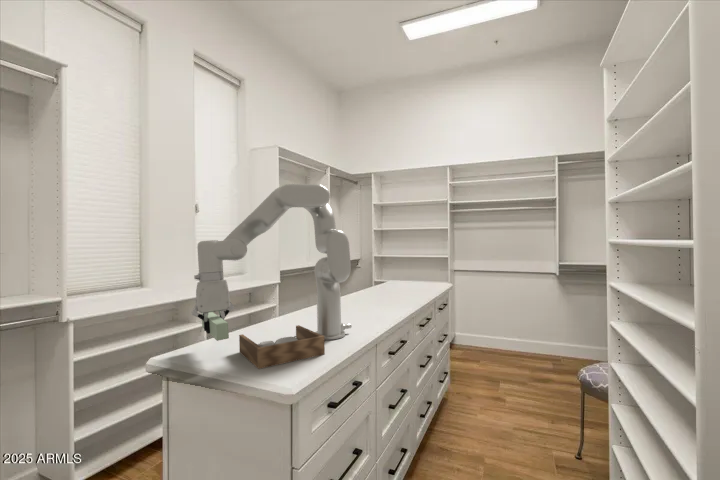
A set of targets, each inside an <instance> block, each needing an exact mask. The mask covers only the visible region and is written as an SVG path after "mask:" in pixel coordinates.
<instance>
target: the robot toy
mask: <svg viewBox="0 0 720 480" xmlns="http://www.w3.org/2000/svg"><path fill="white" fill-rule="evenodd" d="M296 337H297V336H296V335H294V336H287V337H286V336H285V337H280V338H277V339H276V340H275V341H273V340H265V341H262V342H259V343H256V344H257V345H259V346H260V347H265V346H270V345H275V344H280V343H286V342H291V341H296V340H298V339H297V338H296Z"/></svg>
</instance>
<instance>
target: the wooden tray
mask: <svg viewBox="0 0 720 480" xmlns="http://www.w3.org/2000/svg"><path fill="white" fill-rule="evenodd" d="M238 336H239V340H238V341H239V345H238V347H239V353H240V354H241V355H242V356H244V357H245V358H246V359H247V360H248V361H249V362H250V363H251V364H252V365H253V366H255V367H256V368H257V369H258V370H260V369H264V368H269V367H274V366H278V365H282V364H283V365H284V364H287V363H291V362H295V361H300V360H304V359H308V358H314V357H318V356H322V355H325V353H326V352H325V348H326V347H325V340H324V336H323V335H320V334H318V333H316V331H314V330H311V329H308V328H306V327H304V326H301V325H295V336H297V337H295V338H297V339H298V340H296V341H291V342H286V343H280V344H275V345H270V346H265V347H260V346H259V345H257V344H258V343H256V342H255V341H253V340H251V338H249V337H247V336H246V335H244V334H239V335H238Z"/></svg>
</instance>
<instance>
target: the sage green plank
mask: <svg viewBox="0 0 720 480" xmlns="http://www.w3.org/2000/svg"><path fill="white" fill-rule="evenodd" d="M200 314H202V315H203V313H200ZM219 316H220V315H219V314H216V312H209V313H208V321H209V324H210V333H209V335H210V336H212V337H213V339H215V340H216V341H218V342H219V341H222V340H228V339H230V336H229V335H230V333H229V332H230V331H229V322H228V321H226V320H225V318H224V319H222V318H221V317H219ZM201 327H202V328H203V329H204V321H203V320H202V319H201Z"/></svg>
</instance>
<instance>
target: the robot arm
mask: <svg viewBox="0 0 720 480" xmlns="http://www.w3.org/2000/svg"><path fill="white" fill-rule="evenodd" d="M330 198H331V194H330V191H329V189H328V188H327V187H326V186H324V185H323V184H317V183H316V184H315V183H313V184H312V183H299V184H298V183H287V184H284V185H282V186H279V187H277V188H275V189H274V190H273V191H272V192H271V193H270V194H269V195H268V196H267V197H266V198H265V199H264V200H263V201H262V202H261V203H260V204H259V205H258V206H257V207H256V208H255V209H254V210H253V211H252V212H251V213H250V214H249V215H248V216H247V217H246V218H244V220H243V221H242V222H241V223H239V224H238V225H237V226H236V227H235V228H234V229H233V230H232V231H231V232H230V233H229V234H228V235H227V236H226V237H225V238H224V239H223V240H216V239H215V240H201V241H199V242H198V243H197V247H196V248H197V262H198V264H197V265H198V273H197V274H196V275H194V276H193V278H194V280H198V282H197V284H196V290H195V305H194V307H193V309H192V311H191V313H190V315H192V316H193V317H196V318H199V319H200V320H201V321H202V320H203V321H204V328H203V331H204V332H206V334H209V333H210V324H209V321H208V313H209V312H213V313H216V312H218V316H219V317H221V318H222V319H224V320H225V318H226V317H227V315H228V314H229V313H230V312H231V311H233V310H234V309H235V306H234V304H233V303H232V302H231V298H230V297H231V296H230V292H229V286H228V281H227V280H226V279H225V278H224V265H223V264H224V263H223V261H232V262H233V261H240V260H242V259H243V258H245V256H246V255H247V253H248V246H249V244H251V243H252V241H254V240H255V239H256V238H258V237H259V236H261V235H262V234H265V233H266V232H268V231H269V230H270V229H272V227H273V226H274V225H275V224H276V223H277V221H279V220H280V218H281V217H282V216H284V215H285V214H286V212H287V211H288V210H289V209H292V208H303V209H304V210H306V211H308V213H309V214H310V215H311V217H312V220H313V225H314V226H313V227H314V240H315V248H316V250H317V251H318V252H320V253H321V254H325V255H326V256H325V257H321V258H320V259H319V260H317V261H316V263H315V266H314V270H313V271H314V278H315V285H316V312H317V313H316V317H317V319H316V323H317V329H316V330H317V331H315V332H316V333H318V334H320V335H323V336H324V341H326V340H327V341H331V340H332V341H333V340H337V339H341V338H344V337H345V336H346V332H345V330H347V329H351V328H352V323H342V304H341V303H342V302H341V299H342V298H341V296H342V293H341V285H340V283H344V282H345V281H347V280H348V278H349V277H350V275H351V271H352V269H351V267H352V265H351V251H350V242H349V239H348V236H347V234H346V232H344V231H342V230H341V229H337V227H336V218H335V215H334V211H333V209H332V208H331V206H330V204H329V202H330ZM201 313H203V315H202V314H201ZM209 335H210V334H209Z"/></svg>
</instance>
